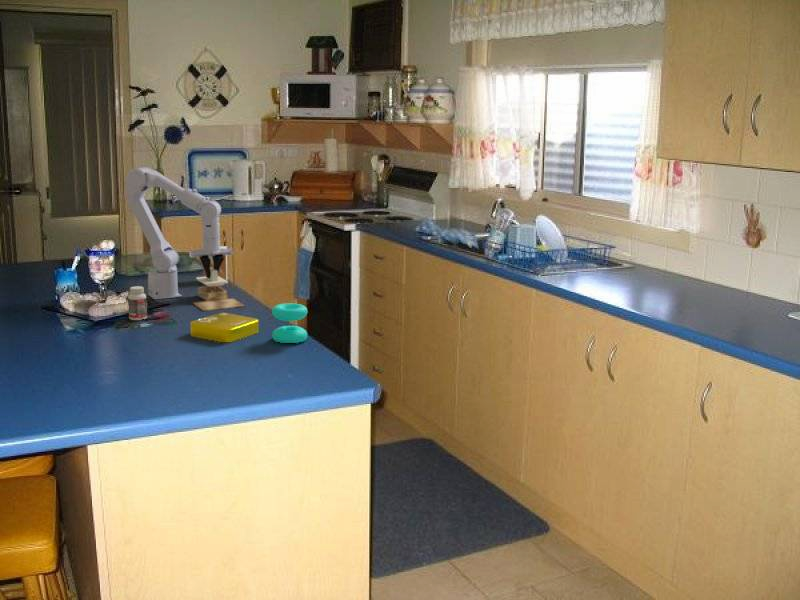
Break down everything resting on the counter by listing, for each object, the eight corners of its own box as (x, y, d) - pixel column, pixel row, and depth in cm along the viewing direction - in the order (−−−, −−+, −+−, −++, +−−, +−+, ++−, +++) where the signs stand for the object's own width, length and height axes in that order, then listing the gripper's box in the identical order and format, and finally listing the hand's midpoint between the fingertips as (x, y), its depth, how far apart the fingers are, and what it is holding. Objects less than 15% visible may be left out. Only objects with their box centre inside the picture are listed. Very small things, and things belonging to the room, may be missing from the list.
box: (207, 302, 281) (207, 293, 280) (198, 295, 289) (197, 287, 289) (227, 300, 285) (227, 291, 284) (217, 293, 293) (217, 285, 292)
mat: (203, 311, 269) (203, 310, 269) (192, 303, 279) (192, 302, 278) (244, 306, 276) (244, 305, 276) (233, 299, 286) (233, 298, 285)
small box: (204, 284, 307) (203, 248, 304) (205, 280, 313) (204, 245, 310) (226, 284, 308) (225, 248, 305) (227, 280, 314) (227, 245, 311)
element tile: (227, 345, 236) (227, 328, 235) (187, 336, 243) (187, 320, 242) (261, 333, 249) (261, 317, 247) (222, 325, 256) (222, 310, 255)
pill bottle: (140, 321, 256) (139, 290, 253) (125, 319, 257) (123, 288, 255) (150, 317, 261) (149, 286, 258) (135, 315, 262) (134, 284, 260)
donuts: (296, 312, 232) (265, 308, 236) (296, 347, 235) (265, 342, 238) (313, 304, 241) (283, 300, 245) (313, 338, 244) (283, 333, 247)
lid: (206, 287, 279) (205, 273, 278) (196, 281, 288) (195, 267, 287) (228, 285, 283) (227, 271, 282) (217, 279, 292) (217, 265, 291)
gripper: (193, 240, 275) (194, 281, 278) (236, 238, 282) (236, 277, 286) (187, 237, 281) (188, 277, 284) (228, 234, 288) (229, 273, 291)
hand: (212, 277), depth 285 cm, fingers closed on lid
